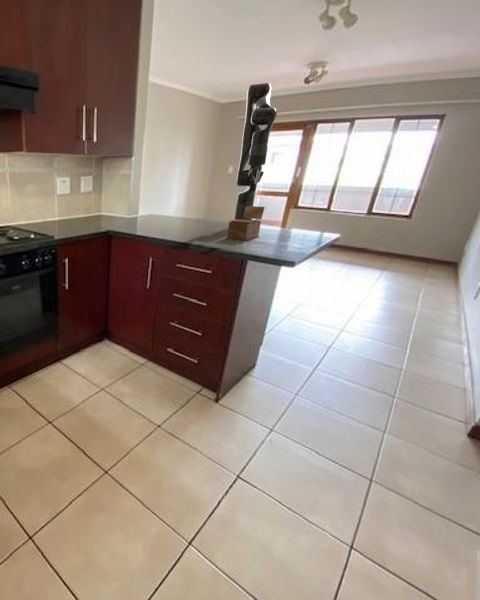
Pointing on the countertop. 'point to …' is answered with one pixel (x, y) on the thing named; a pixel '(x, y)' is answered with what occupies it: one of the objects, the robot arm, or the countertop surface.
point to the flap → (253, 212)
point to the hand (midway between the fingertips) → (252, 191)
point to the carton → (243, 229)
